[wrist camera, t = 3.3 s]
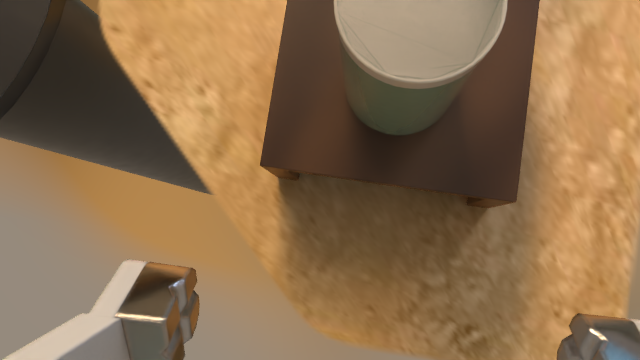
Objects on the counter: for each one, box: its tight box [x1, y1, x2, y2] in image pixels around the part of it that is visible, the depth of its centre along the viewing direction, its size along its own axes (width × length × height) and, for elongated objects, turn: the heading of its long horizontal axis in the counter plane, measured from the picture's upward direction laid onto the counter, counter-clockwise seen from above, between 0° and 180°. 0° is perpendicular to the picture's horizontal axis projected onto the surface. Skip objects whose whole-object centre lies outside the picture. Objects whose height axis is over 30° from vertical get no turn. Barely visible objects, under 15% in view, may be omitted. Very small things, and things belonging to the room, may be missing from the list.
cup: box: [334, 0, 508, 135], centre depth 24 cm, size 6×6×10 cm
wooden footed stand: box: [260, 0, 540, 208], centre depth 32 cm, size 14×12×6 cm
